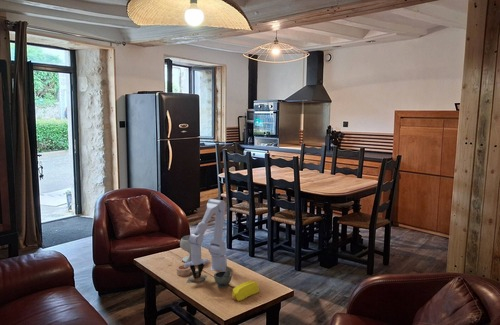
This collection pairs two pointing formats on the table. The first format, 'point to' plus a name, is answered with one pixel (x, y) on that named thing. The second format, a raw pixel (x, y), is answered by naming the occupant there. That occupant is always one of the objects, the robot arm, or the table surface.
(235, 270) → the table surface
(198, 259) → the robot arm
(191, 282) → the mat
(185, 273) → the bowl
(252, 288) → the yellow rounded block
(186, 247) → the chalice
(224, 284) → the mortar and pestle
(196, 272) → the lid
